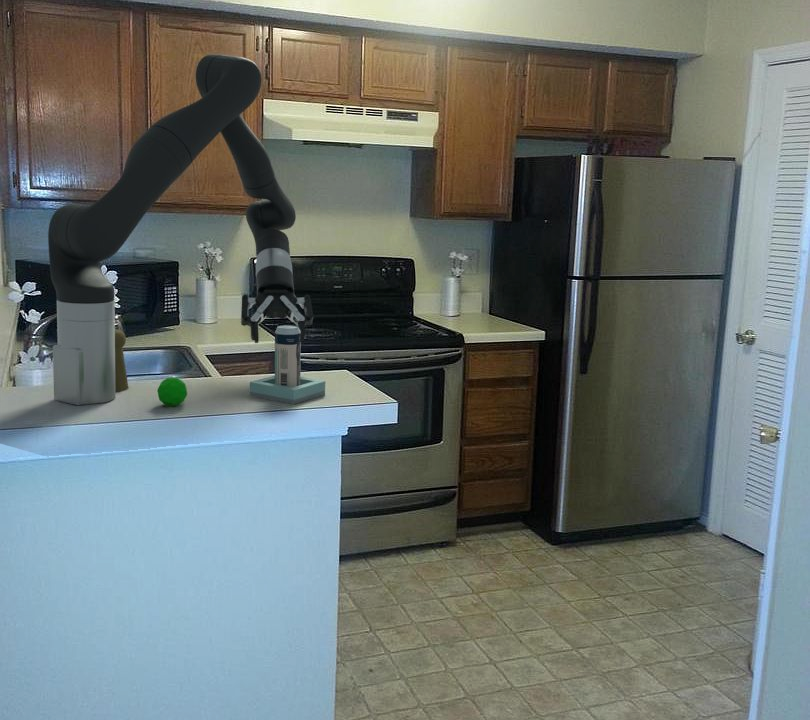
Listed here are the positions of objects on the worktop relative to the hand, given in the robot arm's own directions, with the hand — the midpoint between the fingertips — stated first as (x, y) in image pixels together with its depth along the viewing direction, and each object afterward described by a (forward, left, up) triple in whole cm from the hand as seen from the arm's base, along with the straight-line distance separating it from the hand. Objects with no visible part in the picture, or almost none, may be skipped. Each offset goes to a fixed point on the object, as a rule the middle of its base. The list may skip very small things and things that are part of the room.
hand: (278, 340), depth 164 cm
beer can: (-7, -8, -8) cm, 13 cm away
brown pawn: (-24, +20, -9) cm, 32 cm away
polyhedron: (-26, +3, -9) cm, 28 cm away
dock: (-7, -8, -8) cm, 14 cm away
